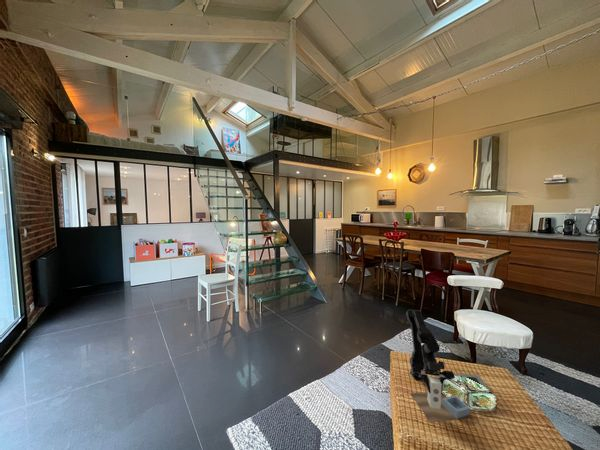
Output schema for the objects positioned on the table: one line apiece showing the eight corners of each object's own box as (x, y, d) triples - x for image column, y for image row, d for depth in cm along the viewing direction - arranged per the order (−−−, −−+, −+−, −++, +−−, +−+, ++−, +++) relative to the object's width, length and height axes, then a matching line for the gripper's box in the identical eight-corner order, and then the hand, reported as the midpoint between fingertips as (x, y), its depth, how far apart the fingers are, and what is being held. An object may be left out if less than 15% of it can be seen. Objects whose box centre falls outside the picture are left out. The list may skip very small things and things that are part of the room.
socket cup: (442, 405, 120) (442, 398, 120) (454, 401, 122) (455, 395, 122) (456, 418, 113) (457, 411, 112) (469, 414, 115) (470, 407, 114)
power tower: (427, 399, 117) (428, 376, 116) (437, 401, 116) (438, 377, 115) (430, 407, 112) (431, 383, 111) (440, 409, 111) (441, 384, 110)
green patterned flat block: (491, 396, 127) (491, 391, 127) (469, 393, 129) (469, 389, 129) (478, 378, 140) (478, 374, 140) (458, 376, 142) (458, 372, 142)
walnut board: (409, 394, 128) (409, 393, 128) (447, 391, 130) (447, 390, 130) (430, 423, 111) (430, 422, 111) (473, 419, 113) (473, 418, 113)
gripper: (412, 351, 118) (417, 388, 108) (454, 356, 114) (463, 395, 104) (408, 356, 126) (412, 391, 117) (447, 360, 122) (455, 397, 113)
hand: (435, 393), depth 112 cm, fingers closed on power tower, 4 cm apart
